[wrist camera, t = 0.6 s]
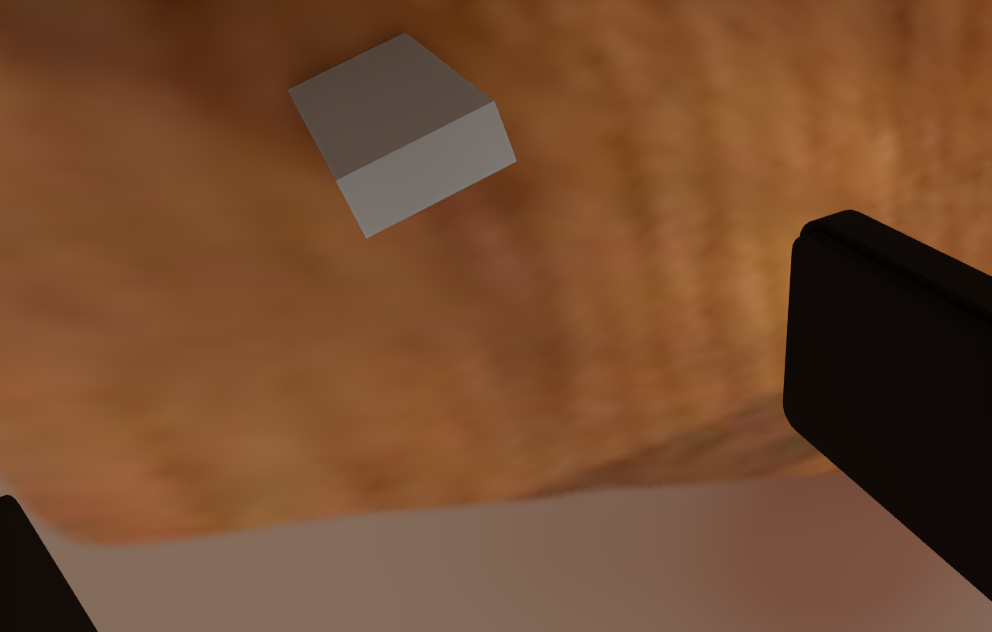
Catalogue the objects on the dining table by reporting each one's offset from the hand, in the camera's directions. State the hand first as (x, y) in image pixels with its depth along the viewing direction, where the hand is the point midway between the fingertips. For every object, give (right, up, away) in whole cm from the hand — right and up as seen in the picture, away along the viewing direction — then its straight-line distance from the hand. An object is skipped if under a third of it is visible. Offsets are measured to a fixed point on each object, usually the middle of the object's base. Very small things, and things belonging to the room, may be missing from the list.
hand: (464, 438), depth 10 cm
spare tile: (-5, +10, +22) cm, 25 cm away
